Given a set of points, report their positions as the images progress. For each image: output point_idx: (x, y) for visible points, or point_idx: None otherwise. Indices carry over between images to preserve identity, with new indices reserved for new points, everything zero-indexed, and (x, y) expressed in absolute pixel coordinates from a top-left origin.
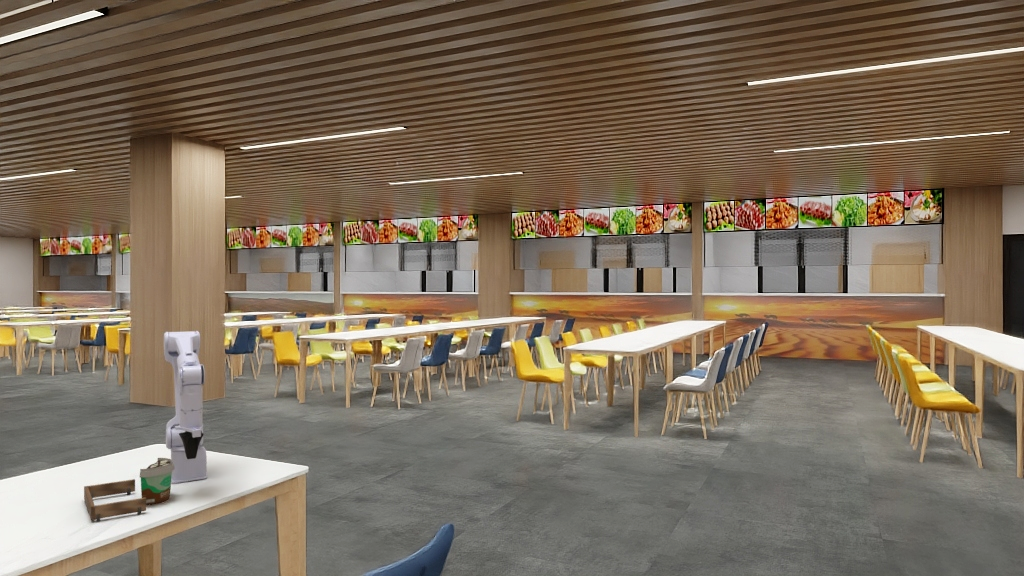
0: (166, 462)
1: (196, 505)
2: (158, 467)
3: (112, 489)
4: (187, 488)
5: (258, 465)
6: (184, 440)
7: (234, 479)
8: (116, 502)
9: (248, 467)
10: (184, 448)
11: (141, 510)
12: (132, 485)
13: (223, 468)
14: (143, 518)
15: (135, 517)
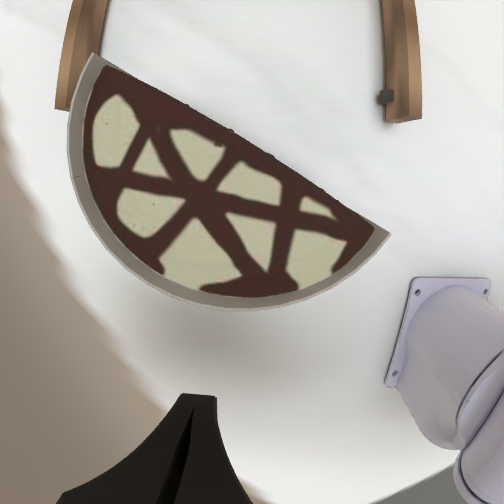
0: (281, 271)
1: (82, 283)
2: (73, 176)
3: (393, 35)
4: (319, 312)
5: (390, 479)
6: (81, 486)
7: (313, 438)
8: (76, 7)
9: (394, 466)
10: (215, 441)
11: None
12: (397, 107)
13: None
14: (44, 106)
15: None
